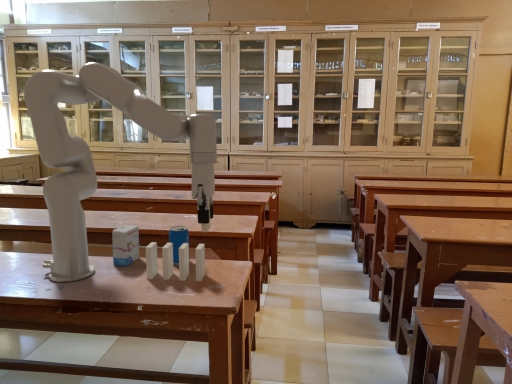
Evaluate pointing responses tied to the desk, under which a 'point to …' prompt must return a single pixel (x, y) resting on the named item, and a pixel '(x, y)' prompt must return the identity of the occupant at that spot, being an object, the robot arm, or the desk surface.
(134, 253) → the ink box
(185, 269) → the domino
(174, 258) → the beverage can
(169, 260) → the domino
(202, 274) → the domino
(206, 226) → the domino
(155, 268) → the domino
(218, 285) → the desk surface
